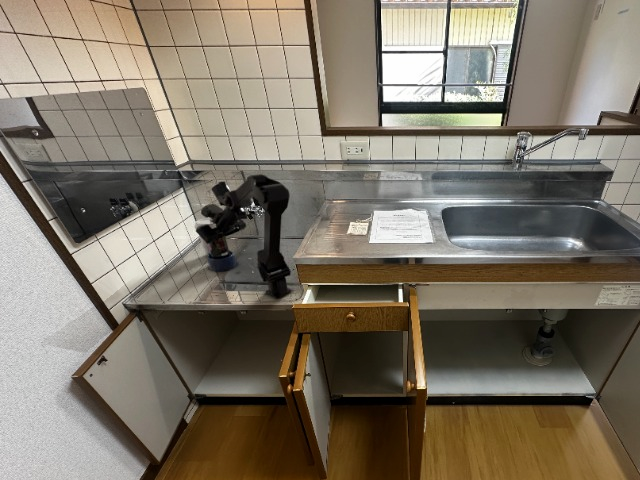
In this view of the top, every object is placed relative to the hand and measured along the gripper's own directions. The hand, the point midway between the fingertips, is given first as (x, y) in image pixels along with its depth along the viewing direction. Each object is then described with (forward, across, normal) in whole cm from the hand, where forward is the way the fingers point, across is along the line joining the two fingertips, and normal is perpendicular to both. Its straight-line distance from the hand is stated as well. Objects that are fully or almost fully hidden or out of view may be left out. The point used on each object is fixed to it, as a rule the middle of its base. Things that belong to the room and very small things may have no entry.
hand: (214, 240), depth 126 cm
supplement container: (+4, 0, +6) cm, 7 cm away
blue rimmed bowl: (+7, 0, +8) cm, 11 cm away
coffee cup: (+14, -7, +1) cm, 16 cm away
